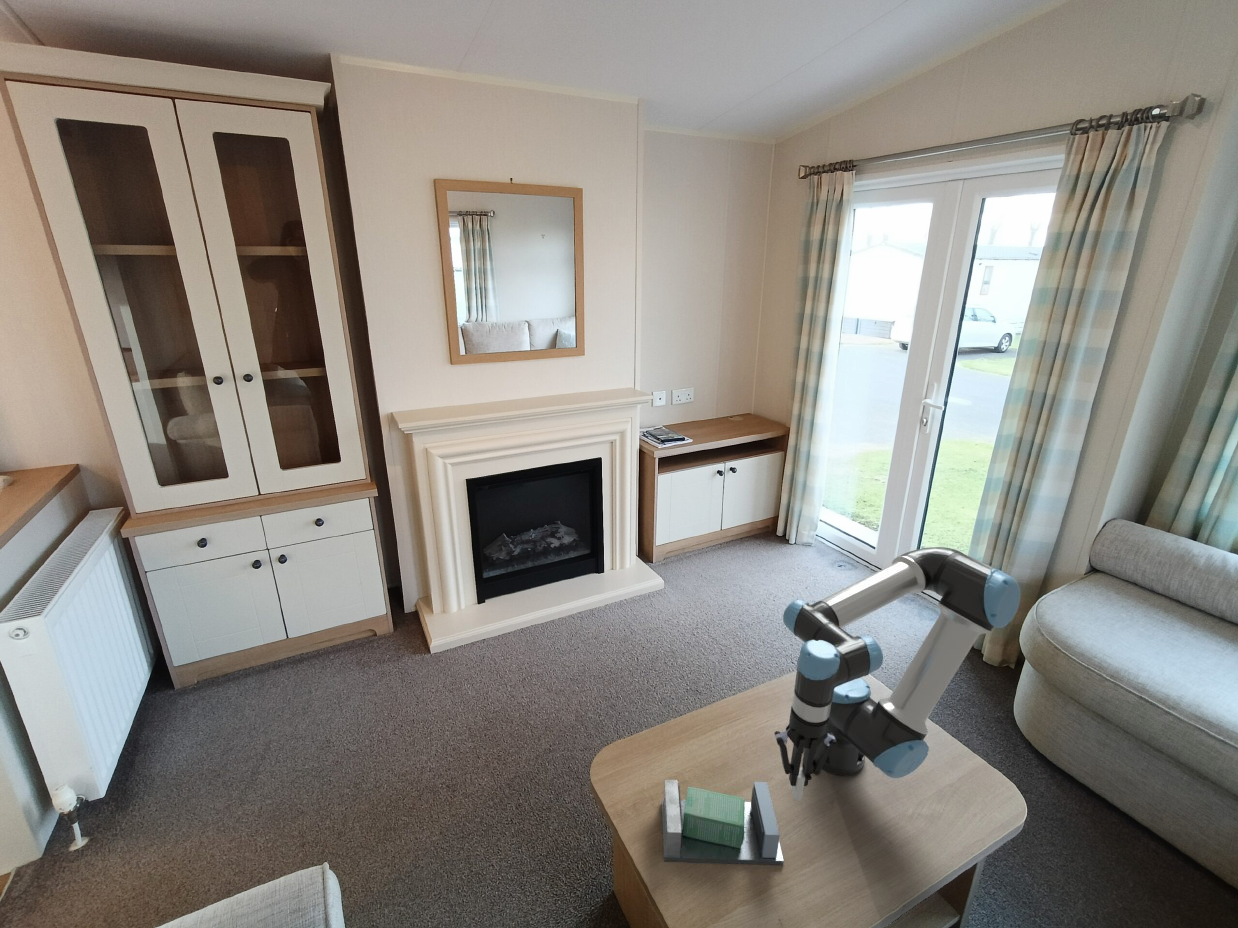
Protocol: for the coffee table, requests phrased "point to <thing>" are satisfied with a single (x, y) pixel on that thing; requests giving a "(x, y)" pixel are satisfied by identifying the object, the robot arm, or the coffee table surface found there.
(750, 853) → the vise
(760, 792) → the block
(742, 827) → the box
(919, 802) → the coffee table surface
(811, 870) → the coffee table surface
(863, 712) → the robot arm
